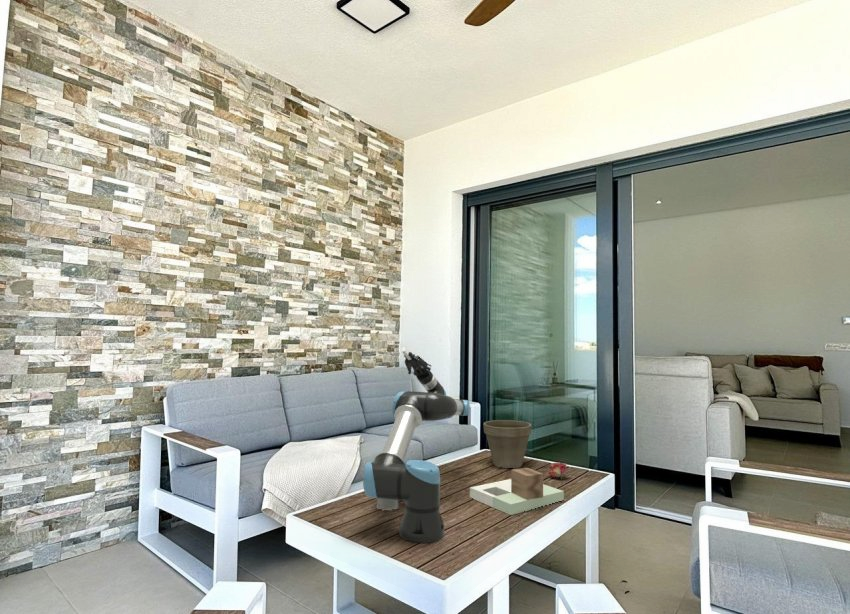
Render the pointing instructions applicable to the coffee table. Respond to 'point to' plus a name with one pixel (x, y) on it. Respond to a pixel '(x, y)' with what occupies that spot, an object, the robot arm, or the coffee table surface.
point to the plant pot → (507, 441)
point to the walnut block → (527, 483)
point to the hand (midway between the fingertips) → (403, 349)
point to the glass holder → (387, 503)
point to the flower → (558, 470)
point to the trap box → (512, 497)
